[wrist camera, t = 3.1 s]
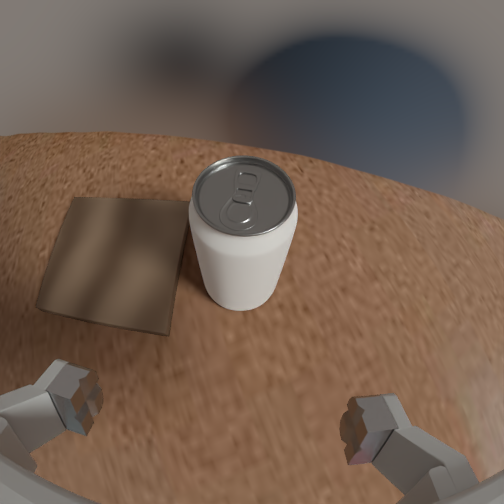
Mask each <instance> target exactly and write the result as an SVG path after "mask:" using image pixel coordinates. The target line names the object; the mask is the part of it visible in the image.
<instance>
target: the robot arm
mask: <svg viewBox="0 0 504 504" xmlns="http://www.w3.org/2000/svg"><path fill="white" fill-rule="evenodd" d="M98 379H99V378H98V375H97V372H96V371H94V370H92V369H89V368H86V367H83V366H80V365H76V364H73V363H70V362H67V361H64V360H61V359H56V360H54V362H53V363H52V364H51V365H50V366H49V367H48V369H47V370H46V371H45V372H44V373H43V374H42V376H41V377H40V378H39V379H38V380H37V382H36V383H35V384H34V385H27V386H25V387H22V388H19V389H17V390H14V391H11V392H8V393H6V394H3V395H0V504H100V503H98V502H95V501H92V500H90V499H87V498H85V497H82V496H80V495H77V494H75V493H73V492H71V491H68V490H66V489H64V488H62V487H60V486H58V485H55V484H53V483H51V482H49V481H47V480H45V479H44V478H42V477H40V476H38V475H36V474H34V472H35V470H36V468H37V464H36V462H35V460H34V459H33V458H32V457H31V455H30V454H29V453H30V452H32V451H34V450H35V449H37V448H38V447H40V446H42V445H43V444H45V443H47V442H48V441H50V440H51V439H53V438H55V437H56V436H58V435H59V434H61V433H62V432H64V431H66V429H68V430H70V431H73V432H76V433H79V434H82V435H85V436H87V435H88V433H89V431H90V429H91V427H92V425H93V424H94V421H93V416H95V415H97V414H99V412H100V410H101V408H102V404H103V392H102V389H101V387H100V386H99V385H98V384H97V381H98ZM347 407H348V411H346V412H345V413H344V414H343V415H342V418H341V420H340V436H341V440H342V441H344V442H345V443H346V444H347V445H346V447H345V449H344V452H345V456H346V459H347V463H348V465H356V464H364V463H372V465H373V466H375V467H376V468H377V469H378V470H379V471H380V472H381V473H382V474H383V475H384V476H385V477H386V478H387V479H388V480H389V481H390V482H391V483H392V484H394V485H395V486H396V487H397V488H398V489H399V490H400V491H401V492H402V493H403V494H404V495H405V496H404V497H403V498H401V499H400V500H399V501H398V502H397V503H396V504H504V470H502V471H500V472H498V473H497V474H495V475H493V476H491V477H489V478H487V479H486V480H484V481H482V482H480V483H479V482H478V480H477V478H476V476H475V474H474V472H473V470H472V468H471V466H470V464H469V462H468V460H467V459H466V457H465V456H464V455H463V454H461V453H459V452H457V451H456V450H454V449H452V448H451V447H449V446H447V445H446V444H444V443H443V442H441V441H439V440H438V439H436V438H434V437H433V436H431V435H430V434H428V433H426V432H425V431H423V430H422V429H420V428H419V427H417V426H412V425H411V423H410V421H409V419H408V417H407V415H406V413H405V411H404V409H403V407H402V405H401V403H400V401H399V400H398V398H397V396H396V395H395V394H394V393H389V394H380V395H369V396H356V397H351V398H350V399H349V401H348V404H347Z"/></svg>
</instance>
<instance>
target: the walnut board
mask: <svg viewBox="0 0 504 504" xmlns="http://www.w3.org/2000/svg"><path fill="white" fill-rule="evenodd" d="M189 204H190V202H187V201H170V200H150V199H127V198H93V197H74V199H73V201H72V204H71V206H70V208H69V211H68V213H67V215H66V218H65V220H64V223H63V225H62V227H61V230H60V233H59V235H58V238H57V240H56V243H55V246H54V249H53V252H52V254H51V257H50V260H49V263H48V266H47V269H46V272H45V276H44V279H43V282H42V286H41V289H40V293H39V296H38V300H37V304H36V308H38V309H40V310H41V311H44V312H48V313H52V314H56V315H60V316H64V317H68V318H72V319H77V320H81V321H86V322H90V323H95V324H100V325H105V326H110V327H115V328H120V329H126V330H131V331H137V332H143V333H149V334H155V335H162V336H169V333H170V327H171V320H172V314H173V308H174V301H175V295H176V290H177V284H178V278H179V273H180V267H181V262H182V257H183V252H184V247H185V242H186V237H187V232H188V227H189V223H190V222H189Z"/></svg>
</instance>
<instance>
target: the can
mask: <svg viewBox="0 0 504 504" xmlns="http://www.w3.org/2000/svg"><path fill="white" fill-rule="evenodd" d="M297 217H298V210H297V204H296V193H295V188H294V185H293V183H292V181H291V179H290V178H289V176H288V175H287V174H286V173H285V172H284V171H283V170H282V169H281V168H280V167H278V166H277V165H275V164H274V163H272V162H270V161H268V160H265V159H262V158H258V157H253V156H232V157H227V158H224V159H221V160H219V161H216V162H214V163H213V164H211V165H209V166H208V167H207V168H206V169H204V170H203V171H202V172H201V174H200V175H199V176H198V178H197V179H196V181H195V184H194V187H193V191H192V198H191V201H190V204H189V222H190V228H191V232H192V237H193V241H194V246H195V250H196V254H197V258H198V262H199V266H200V270H201V274H202V278H203V281H204V285H205V287H206V290H207V292H208V294H209V295H210V297H211V298H212V299H213V300H214V301H215V302H216V303H218V304H219V305H220V306H222V307H224V308H226V309H230V310H236V311H245V310H251V309H254V308H256V307H258V306H260V305H262V304H263V303H264V302H266V301H267V300H268V299H269V297H270V296H271V295H272V293H273V291H274V289H275V287H276V284H277V281H278V279H279V276H280V273H281V270H282V267H283V264H284V262H285V259H286V256H287V253H288V250H289V247H290V244H291V241H292V238H293V235H294V231H295V228H296V224H297Z"/></svg>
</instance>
